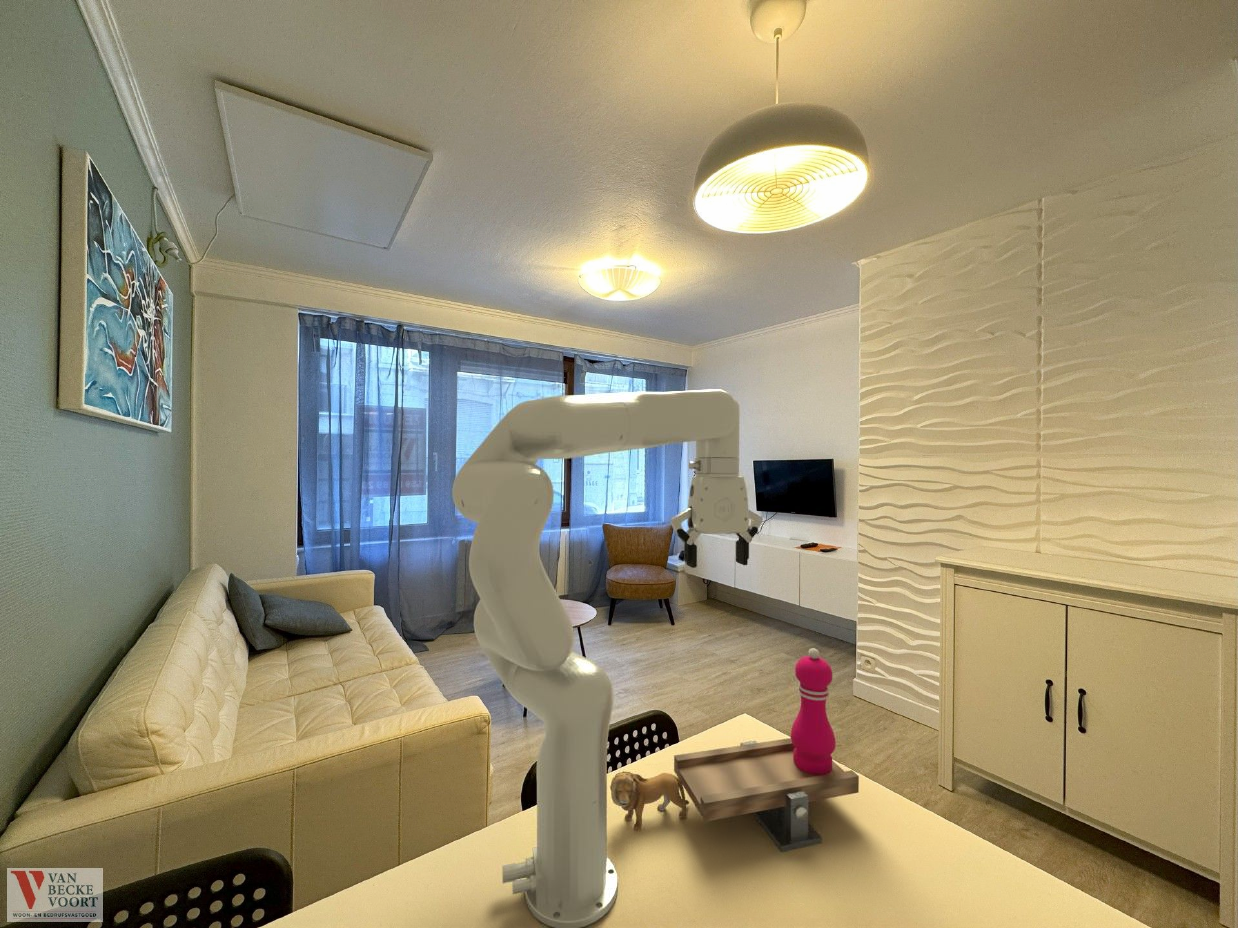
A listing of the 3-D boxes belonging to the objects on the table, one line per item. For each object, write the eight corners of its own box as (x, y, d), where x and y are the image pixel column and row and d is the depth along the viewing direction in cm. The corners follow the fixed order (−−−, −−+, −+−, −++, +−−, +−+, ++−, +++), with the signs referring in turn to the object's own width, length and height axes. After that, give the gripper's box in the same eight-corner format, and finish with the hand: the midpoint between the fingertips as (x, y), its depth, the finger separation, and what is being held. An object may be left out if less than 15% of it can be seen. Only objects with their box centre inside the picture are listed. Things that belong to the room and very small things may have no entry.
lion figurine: (619, 845, 77) (619, 786, 77) (603, 823, 82) (603, 768, 82) (697, 814, 84) (697, 760, 84) (679, 795, 89) (679, 744, 89)
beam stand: (781, 851, 76) (781, 803, 76) (728, 781, 92) (728, 742, 92) (821, 842, 78) (822, 795, 78) (763, 775, 94) (763, 737, 94)
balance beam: (704, 821, 75) (704, 803, 75) (674, 770, 87) (674, 755, 87) (858, 792, 82) (858, 775, 82) (810, 749, 94) (810, 735, 94)
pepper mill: (839, 780, 83) (841, 658, 83) (793, 774, 84) (794, 654, 84) (830, 755, 90) (831, 642, 90) (787, 750, 91) (789, 639, 91)
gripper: (679, 468, 84) (678, 571, 84) (772, 468, 88) (771, 567, 88) (664, 468, 91) (663, 563, 91) (750, 468, 95) (750, 559, 96)
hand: (716, 564), depth 90 cm, fingers open, 9 cm apart
